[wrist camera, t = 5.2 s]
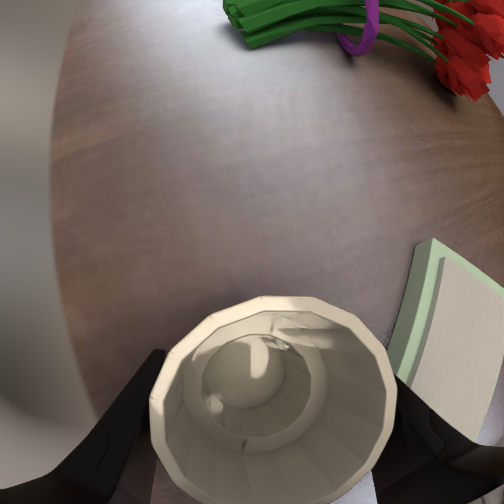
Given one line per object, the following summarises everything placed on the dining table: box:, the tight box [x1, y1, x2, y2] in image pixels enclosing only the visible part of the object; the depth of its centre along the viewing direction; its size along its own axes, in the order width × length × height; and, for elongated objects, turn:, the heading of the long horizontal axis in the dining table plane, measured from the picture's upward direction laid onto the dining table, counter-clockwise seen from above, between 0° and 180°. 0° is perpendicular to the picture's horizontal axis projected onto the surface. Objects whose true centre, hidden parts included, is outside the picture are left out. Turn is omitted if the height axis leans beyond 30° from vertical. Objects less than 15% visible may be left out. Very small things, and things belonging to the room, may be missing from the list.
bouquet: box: [223, 0, 504, 102], centre depth 18 cm, size 20×16×30 cm
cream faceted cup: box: [149, 295, 397, 504], centre depth 11 cm, size 7×7×10 cm
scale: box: [387, 238, 504, 443], centre depth 16 cm, size 14×12×3 cm
